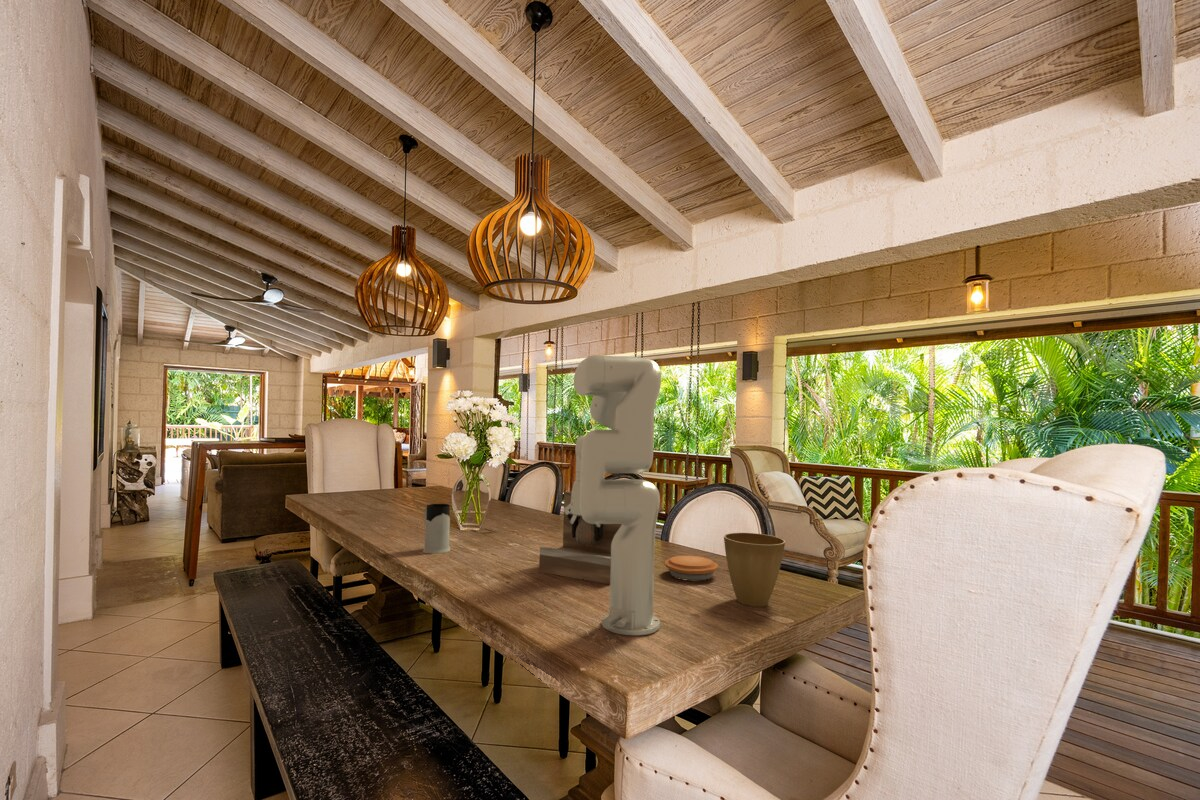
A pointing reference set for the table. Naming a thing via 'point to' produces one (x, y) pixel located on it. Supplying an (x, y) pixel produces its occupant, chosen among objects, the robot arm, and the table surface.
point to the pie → (691, 567)
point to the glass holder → (437, 528)
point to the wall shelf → (579, 554)
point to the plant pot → (753, 565)
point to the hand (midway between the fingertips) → (586, 538)
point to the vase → (585, 534)
